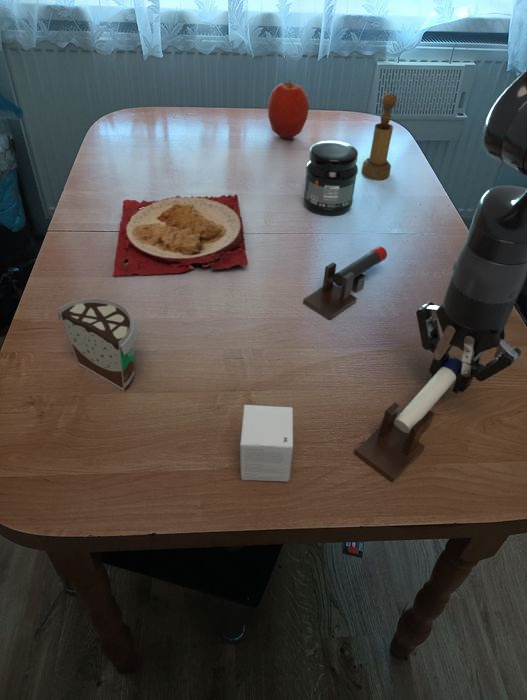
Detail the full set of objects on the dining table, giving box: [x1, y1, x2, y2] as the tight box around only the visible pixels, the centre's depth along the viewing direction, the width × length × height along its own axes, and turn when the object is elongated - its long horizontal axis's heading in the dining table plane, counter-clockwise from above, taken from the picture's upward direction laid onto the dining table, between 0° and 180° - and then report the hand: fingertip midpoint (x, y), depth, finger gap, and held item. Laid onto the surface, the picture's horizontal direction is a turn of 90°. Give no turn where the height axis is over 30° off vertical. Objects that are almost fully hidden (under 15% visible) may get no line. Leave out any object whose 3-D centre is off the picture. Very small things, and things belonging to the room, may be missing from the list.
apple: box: [267, 79, 310, 139], centre depth 136 cm, size 10×10×14 cm
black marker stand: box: [302, 262, 366, 321], centre depth 90 cm, size 11×6×6 cm, turn 135°
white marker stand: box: [353, 402, 435, 483], centre depth 69 cm, size 11×6×6 cm, turn 135°
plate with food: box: [112, 194, 249, 277], centre depth 104 cm, size 24×26×4 cm
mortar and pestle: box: [361, 92, 397, 181], centre depth 121 cm, size 7×6×18 cm
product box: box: [239, 404, 294, 483], centre depth 65 cm, size 6×6×7 cm
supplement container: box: [302, 140, 359, 216], centre depth 112 cm, size 10×10×12 cm
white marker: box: [394, 356, 463, 434], centre depth 70 cm, size 12×3×3 cm, turn 135°
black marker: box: [333, 245, 388, 288], centre depth 93 cm, size 12×3×3 cm, turn 135°
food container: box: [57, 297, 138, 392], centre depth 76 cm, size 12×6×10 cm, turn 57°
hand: (447, 382), depth 73 cm, fingers closed on white marker, 2 cm apart
